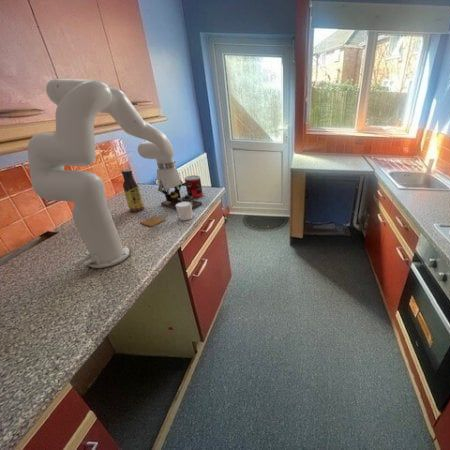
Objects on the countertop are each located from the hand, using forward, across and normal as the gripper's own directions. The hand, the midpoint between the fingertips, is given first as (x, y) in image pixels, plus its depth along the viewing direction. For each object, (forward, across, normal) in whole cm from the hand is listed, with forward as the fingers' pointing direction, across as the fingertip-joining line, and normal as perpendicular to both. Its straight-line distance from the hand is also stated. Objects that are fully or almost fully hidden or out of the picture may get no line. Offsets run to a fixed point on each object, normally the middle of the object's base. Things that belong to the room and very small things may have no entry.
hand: (173, 199), depth 132 cm
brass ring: (-2, 0, 0) cm, 2 cm away
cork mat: (+2, +20, +8) cm, 22 cm away
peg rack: (+2, 0, +5) cm, 6 cm away
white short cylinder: (+3, +10, +18) cm, 21 cm away
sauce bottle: (+3, +14, -10) cm, 17 cm away
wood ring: (-2, 0, +10) cm, 10 cm away
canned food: (+3, -13, +2) cm, 13 cm away
